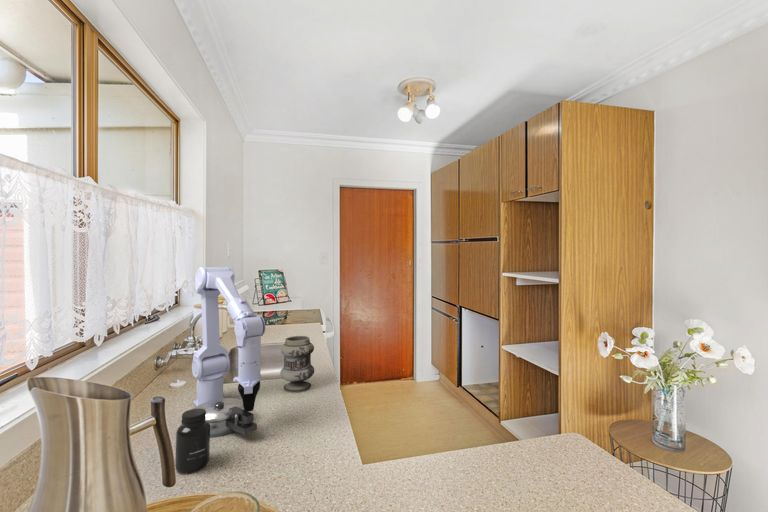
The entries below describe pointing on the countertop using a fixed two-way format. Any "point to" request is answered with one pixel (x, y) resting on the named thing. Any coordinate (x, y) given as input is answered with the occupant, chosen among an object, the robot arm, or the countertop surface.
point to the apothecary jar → (297, 363)
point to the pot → (231, 427)
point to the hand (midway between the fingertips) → (248, 410)
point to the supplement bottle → (192, 442)
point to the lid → (225, 410)
